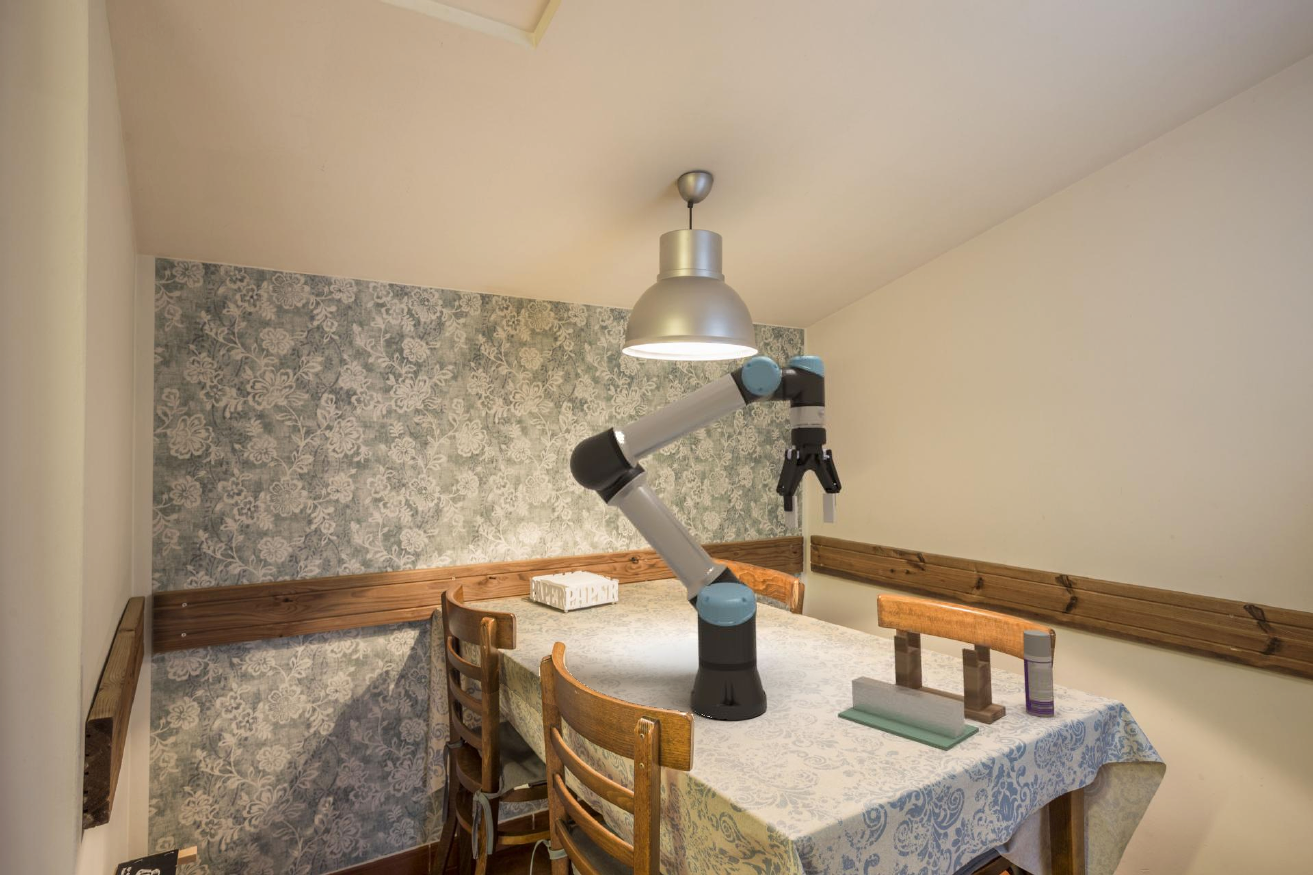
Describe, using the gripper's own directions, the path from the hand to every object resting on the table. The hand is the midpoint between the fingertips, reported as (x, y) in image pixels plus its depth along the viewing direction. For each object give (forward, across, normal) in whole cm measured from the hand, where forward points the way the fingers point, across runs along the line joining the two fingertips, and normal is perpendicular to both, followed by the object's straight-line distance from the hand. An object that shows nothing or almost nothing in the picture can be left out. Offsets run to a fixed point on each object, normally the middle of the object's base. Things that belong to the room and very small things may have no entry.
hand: (811, 525), depth 146 cm
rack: (+35, +9, -24) cm, 43 cm away
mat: (+35, -5, -24) cm, 42 cm away
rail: (+34, -5, -24) cm, 42 cm away
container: (+35, +18, -38) cm, 55 cm away
